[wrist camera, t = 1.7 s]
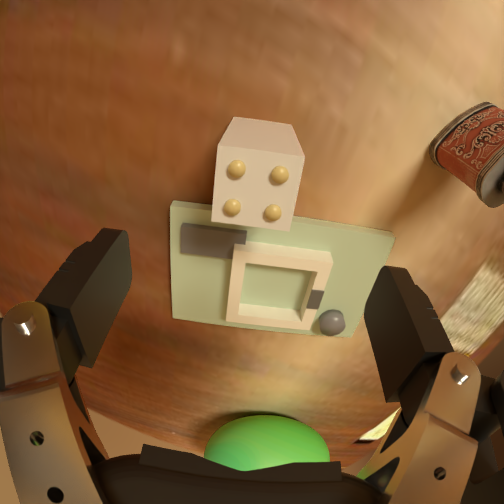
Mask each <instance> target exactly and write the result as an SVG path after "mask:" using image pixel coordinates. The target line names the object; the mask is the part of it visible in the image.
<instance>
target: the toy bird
mask: <svg viewBox="0 0 504 504" xmlns="http://www.w3.org/2000/svg"><path fill="white" fill-rule="evenodd" d="M204 458H205V459H208V460H211V461H213V462H216V463H219V464H222V465H225V466H227V467H230V468H233V469H236V470H240V471H250V470H256V469H262V468H268V467H273V466H278V465H283V464H288V463H293V462H330V456H329V451H328V448H327V445H326V443H325V441H324V440H323V438H322V437H321V436H320V435H319V434H318V433H317V432H316V431H315V430H314V429H312V428H311V427H309V426H308V425H306V424H304V423H302V422H299V421H296V420H293V419H290V418H286V417H281V416H272V415H257V416H248V417H243V418H239V419H236V420H233V421H230V422H228V423H226V424H225V425H223V426H222V427H220V428H219V429H218V430H217V431H216V432H215V433H214V434H213V435H212V436H211V438H210V439H209V441H208V443H207V446H206V448H205V453H204Z"/></svg>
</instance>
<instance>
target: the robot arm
mask: <svg viewBox="0 0 504 504" xmlns="http://www.w3.org/2000/svg"><path fill="white" fill-rule="evenodd" d="M131 280H132V268H131V259H130V249H129V239H128V234H127V232H126V231H125V230H117V229H109V228H103V229H101V230H100V232H99V233H98V234H97V235H96V236H95V238H94V239H93V240H92V241H91V242H88V241H87V242H85V243H84V244H82V245H81V246H79V247H77V248H76V249H74V250H73V252H72V253H71V254H70V255H69V257H68V258H67V259H66V262H64V263H63V264H62V265H61V267H60V268H59V271H57V272H56V273H55V274H54V276H53V277H52V278H51V280H50V281H49V282H48V284H47V285H46V286H45V288H44V289H43V290H42V292H41V293H40V294H39V296H38V297H37V299H36V300H35V301H34V302H33V301H29V302H23V303H20V304H18V305H16V306H14V307H13V308H11V309H10V310H9V311H8V312H7V313H6V315H5V316H4V318H0V425H1V431H2V436H3V441H4V446H5V450H6V455H7V459H8V463H9V467H10V471H11V475H12V478H13V482H14V485H15V488H16V492H17V494H18V498H19V501H20V504H459V503H460V501H461V503H462V504H504V468H503V469H502V470H500V471H498V467H497V463H496V459H495V454H494V451H493V446H492V442H491V438H490V435H492V434H493V433H494V432H495V431H497V430H498V429H499V428H500V427H501V429H502V433H503V436H504V370H503V372H502V373H501V374H500V375H499V376H498V377H497V378H496V379H494V378H490V377H486V376H483V375H480V372H479V370H478V368H477V366H476V365H475V363H474V362H473V361H472V360H471V359H470V358H469V357H467V356H466V355H464V354H461V353H458V352H454V350H453V347H452V345H451V343H450V341H449V339H448V336H447V334H446V332H445V330H444V328H443V326H442V324H441V322H440V320H439V319H438V316H437V314H436V312H435V310H433V306H432V304H431V302H430V300H429V298H428V296H427V295H426V294H425V293H424V292H423V291H422V290H421V289H420V288H419V287H418V286H417V285H415V284H414V282H413V280H412V278H411V276H410V274H409V272H408V271H407V269H405V268H400V267H392V266H383V267H382V268H381V269H380V271H379V273H378V276H377V278H376V280H375V283H374V285H373V287H372V290H371V292H370V294H369V296H368V299H367V301H366V304H365V308H364V320H365V324H366V327H367V331H368V334H369V338H370V341H371V345H372V349H373V352H374V356H375V360H376V364H377V367H378V371H379V375H380V379H381V383H382V388H383V392H384V396H385V400H386V403H387V402H400V404H401V408H400V409H399V410H398V412H397V413H396V415H395V417H394V419H393V421H392V423H391V425H390V426H389V428H388V430H387V432H386V434H385V436H384V437H383V439H382V441H381V443H380V445H379V446H378V448H377V450H376V451H375V453H374V455H373V456H372V458H371V459H370V461H369V462H368V463H367V464H366V465H365V466H364V468H363V469H362V470H361V471H360V472H359V473H358V475H357V476H353V475H350V474H347V473H343V472H341V463H340V461H335V462H293V463H288V464H283V465H278V466H273V467H268V468H262V469H256V470H250V471H240V470H236V469H233V468H230V467H227V466H225V465H222V464H219V463H216V462H213V461H211V460H208V459H205V458H203V457H200V456H197V455H195V454H192V453H187V452H181V451H176V450H171V449H166V448H161V447H156V446H151V445H146V444H143V447H142V451H141V454H131V455H123V456H118V457H114V458H109V456H108V454H107V452H106V450H105V448H104V446H103V444H102V442H101V440H100V438H99V437H98V435H97V433H96V430H95V428H94V426H93V423H92V421H91V419H90V415H89V412H88V410H87V407H86V404H85V401H84V398H83V395H82V392H81V389H80V386H79V383H78V380H77V377H76V375H75V373H76V371H77V368H78V366H79V365H82V366H85V367H89V368H92V367H93V365H94V363H95V361H96V358H97V356H98V354H99V352H100V349H101V347H102V345H103V343H104V340H105V338H106V336H107V334H108V332H109V330H110V328H111V325H112V323H113V321H114V319H115V317H116V315H117V313H118V311H119V309H120V307H121V305H122V303H123V301H124V299H125V297H126V295H127V293H128V291H129V288H130V285H131Z"/></svg>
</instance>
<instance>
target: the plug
mask: <svg viewBox="0 0 504 504" xmlns="http://www.w3.org/2000/svg"><path fill="white" fill-rule="evenodd" d="M304 160H305V156H304V153H303V151H302V149H301V146H300V144H299V141H298V139H297V136H296V134H295V132H294V129H293V127H292V125H290V124H284V123H277V122H271V121H264V120H257V119H249V118H241V117H233V119H232V121H231V123H230V124H229V126H228V128H227V130H226V131H225V133H224V135H223V137H222V139H221V140H220V142H219V144H218V149H217V159H216V170H215V181H214V193H213V205H212V218H211V221H212V222H220V223H228V224H236V225H244V226H251V227H259V228H266V229H274V230H281V231H288V232H289V231H290V227H291V222H292V218H293V213H294V208H295V204H296V199H297V194H298V189H299V184H300V180H301V175H302V170H303V165H304Z"/></svg>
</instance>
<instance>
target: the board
mask: <svg viewBox="0 0 504 504" xmlns="http://www.w3.org/2000/svg"><path fill="white" fill-rule="evenodd" d="M211 218H212V205H209V204H200V203H192V202H183V201H174V200H173V202H172V204H171V205H170V257H171V290H172V312H173V318H176V319H183V320H189V321H196V322H203V323H210V324H217V325H225V326H232V327H240V328H249V329H258V330H267V331H276V332H286V333H297V334H309V335H321V336H335V337H352V335H353V333H354V331H355V329H356V327H357V325H358V323H359V321H360V319H361V317H362V315H363V313H364V308H365V304H366V301H367V299H368V296H369V294H370V292H371V290H372V287H373V285H374V283H375V280H376V278H377V276H378V273H379V271H380V269H381V268H382V267H383V266H385V264H386V261H387V259H388V256H389V254H390V251H391V249H392V246H393V244H394V241H395V239H396V237H395V236H394V234H393V233H392V232H390V231H385V230H379V229H373V228H367V227H362V226H356V225H350V224H343V223H337V222H331V221H325V220H318V219H312V218H305V217H298V216H293V218H292V222H291V227H290V231H289V232H288V231H281V230H274V229H266V228H259V227H251V226H244V225H236V224H228V223H220V222H212V221H211Z"/></svg>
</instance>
